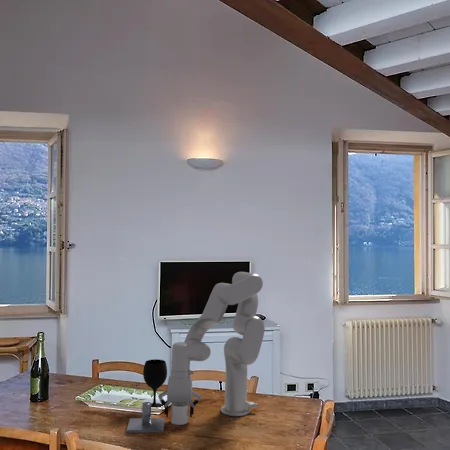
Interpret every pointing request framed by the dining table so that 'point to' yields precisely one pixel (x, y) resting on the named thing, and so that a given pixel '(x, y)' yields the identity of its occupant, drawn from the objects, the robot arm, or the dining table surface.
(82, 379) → the dining table surface
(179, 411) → the collar
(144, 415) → the duct stub
